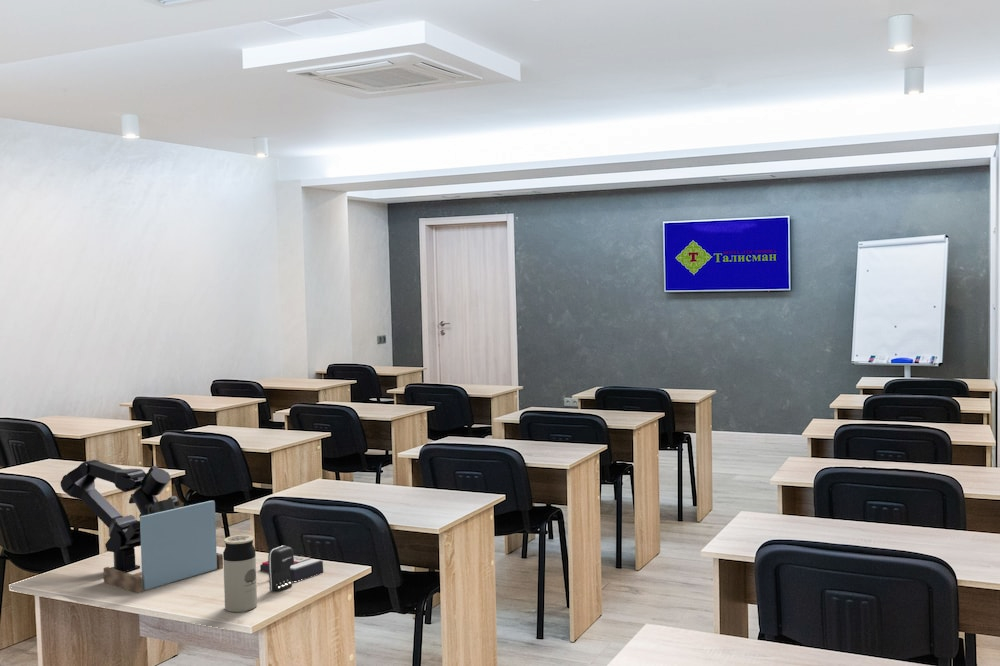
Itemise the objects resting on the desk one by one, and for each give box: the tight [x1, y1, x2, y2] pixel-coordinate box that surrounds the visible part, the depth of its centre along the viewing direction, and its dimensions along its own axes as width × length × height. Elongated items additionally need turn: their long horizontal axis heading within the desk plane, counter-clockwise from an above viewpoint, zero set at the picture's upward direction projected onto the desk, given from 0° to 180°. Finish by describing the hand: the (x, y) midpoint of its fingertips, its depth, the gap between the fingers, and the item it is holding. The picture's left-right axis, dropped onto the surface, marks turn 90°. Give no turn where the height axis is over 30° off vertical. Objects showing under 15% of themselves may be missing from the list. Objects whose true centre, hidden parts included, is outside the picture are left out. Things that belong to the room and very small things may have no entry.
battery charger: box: [267, 545, 295, 592], centre depth 247 cm, size 7×4×11 cm, turn 151°
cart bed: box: [103, 552, 224, 594], centre depth 259 cm, size 17×27×5 cm, turn 143°
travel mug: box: [222, 534, 258, 613], centre depth 232 cm, size 8×8×18 cm
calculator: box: [259, 555, 324, 582], centre depth 262 cm, size 11×4×15 cm
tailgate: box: [139, 500, 217, 591], centre depth 254 cm, size 1×23×20 cm, turn 143°
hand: (172, 548), depth 257 cm, fingers closed
